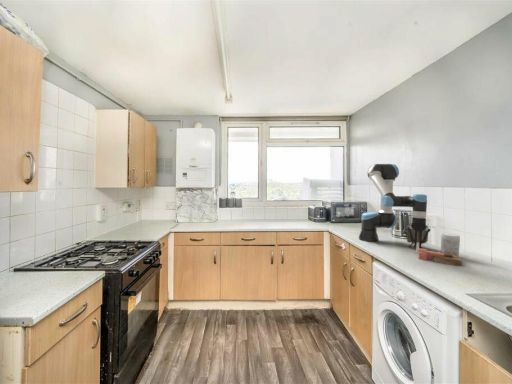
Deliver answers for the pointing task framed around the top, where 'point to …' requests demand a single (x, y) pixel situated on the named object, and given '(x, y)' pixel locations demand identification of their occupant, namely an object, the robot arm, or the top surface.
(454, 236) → the supplement tub
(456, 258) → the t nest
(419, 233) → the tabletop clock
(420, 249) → the t block
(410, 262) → the top surface
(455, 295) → the top surface
